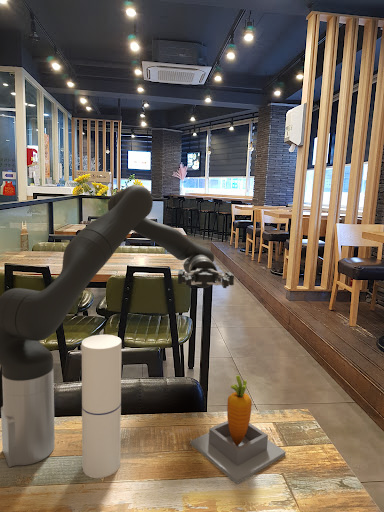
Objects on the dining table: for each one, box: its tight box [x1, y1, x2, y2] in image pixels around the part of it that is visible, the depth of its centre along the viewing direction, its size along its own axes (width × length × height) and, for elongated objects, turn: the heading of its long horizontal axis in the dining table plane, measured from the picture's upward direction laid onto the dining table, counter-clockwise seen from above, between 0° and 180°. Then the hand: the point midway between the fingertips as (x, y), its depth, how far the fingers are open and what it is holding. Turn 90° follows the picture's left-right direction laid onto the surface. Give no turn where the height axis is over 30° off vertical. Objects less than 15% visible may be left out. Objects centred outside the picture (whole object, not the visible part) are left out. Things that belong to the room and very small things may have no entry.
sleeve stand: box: [190, 420, 287, 485], centre depth 77 cm, size 14×14×4 cm
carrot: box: [226, 374, 253, 446], centre depth 77 cm, size 5×5×15 cm
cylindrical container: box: [81, 334, 122, 479], centre depth 70 cm, size 7×7×25 cm
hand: (207, 283), depth 88 cm, fingers open, 8 cm apart
